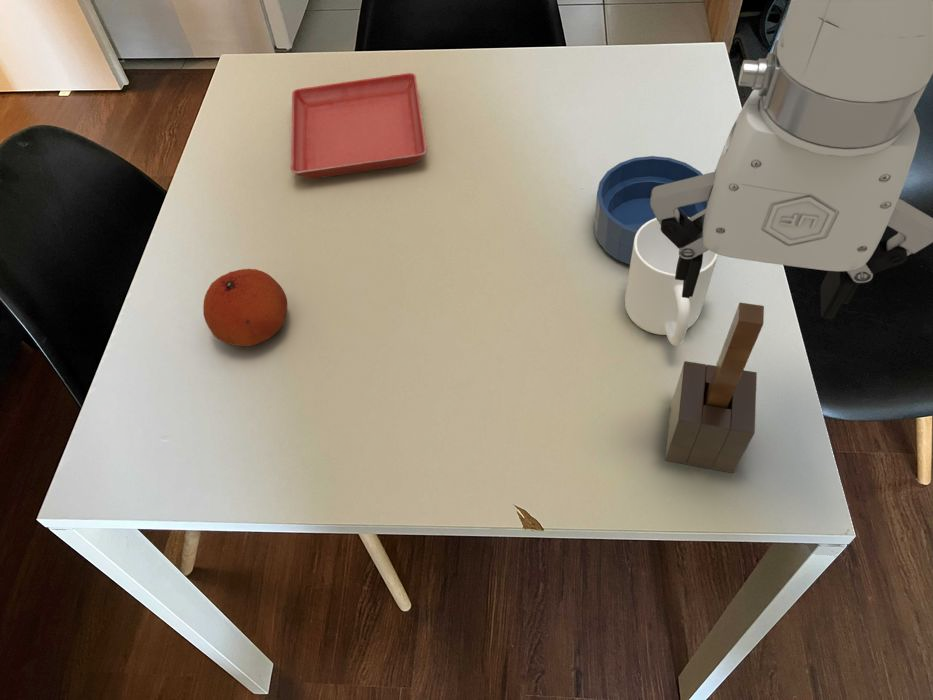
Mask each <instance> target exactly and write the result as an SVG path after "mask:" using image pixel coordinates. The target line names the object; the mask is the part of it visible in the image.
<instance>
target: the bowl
mask: <svg viewBox="0 0 933 700" xmlns="http://www.w3.org/2000/svg"><path fill="white" fill-rule="evenodd" d="M700 175H704V174H703V173H702V171H700V170H698V169H697V168H696V167H694V166H692V165H690V164H689V163H687V162H685V161H681V160H678V159H676V158H672V157H667V156H666V157H665V156H655V155H649V156H648V155H647V156H639V157H633V158H630V159H627V160H624V161H621V162H618V164H616V165H614V166H613V167H611V168H609V170H607V171H606V173H605V174H604V175H603V177H602V178H601V179H600V181H599V183H598V187H597V191H596V197H595V198H596V199H595V209H594V221H593V229H594V234H595V238H596V241H597V242H598V243H599V245H600V246H601V247H602V249H603V250H604V252H606V253H607V254H608V255H610V256H611V257H613V259H615V260H617V261H618V262H622V263H624V264H627V265H629V266H630V263H631V257H632V251H633V245H634V238H635V235H636V233H637V231H638V230H639V229H640V228H641V227H642V226H643V225H644V224H645V223H647V222H648V221H650V220H652V219H654V218H656V217H655V214H654V212H653V210H652V208H651V206H650V199H651V193H652V189H653V188H654V187H656V186H659V185H664V184H668V183H672V182H676V181H680V180H684V179H688V178H692V177H696V176H700ZM706 208H707V201H705V202H701V203H696V204H692V205H687V206H683V207H679V209H680V210H681V211H682V212H683V213H684V214H685V215H686V216H687V217H689V218H690V217H692V216H694V215H695V214H697V213H699V212H701V211H702V210H704V209H706Z"/></svg>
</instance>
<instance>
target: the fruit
mask: <svg viewBox="0 0 933 700" xmlns="http://www.w3.org/2000/svg"><path fill="white" fill-rule="evenodd" d="M202 309H203V310H202V311H203V317H204V322H205V324H206V326H207V327H208V329H209V330H210V332H211V334H212V336H214V337H215V338H216V339H217V340H219V341H221V342H223V343H226V344H229V345H232V346H241V347H249V346H250V347H251V346H255V345H258V344H260V343H262V342H264V341H267V340H269V339H271V338H272V337H273V336H274V335H275V334H276V333H277V332H278V331H280V329H281V328H282V326H283V324H284V322H285V320H286V317H287V312H288V299H287V294H286V293H285V291H284V288H283V286H281V285H280V284H279V283H278V281H277V280H276V279H274V277H272V276H271V275H270V274H268V273H267V272H264V271H262V270H258V269H256V268H242V269H237V270H233V271H229V272H227V273H225V274H223V275H221V276H219V277H217V278H216V279H215V280H214V281H213V282H212V283H211V284H210V285H209V287H208V289H207V290H206V294H204V299H203V307H202Z"/></svg>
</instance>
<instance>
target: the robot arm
mask: <svg viewBox="0 0 933 700" xmlns="http://www.w3.org/2000/svg"><path fill="white" fill-rule="evenodd" d="M786 12H787V13H786V16H785V18H784V22H783V25H782V28H781V31H780V35H779V38H778V40H777V39H776V40H775V42H774V46H773V48H772V52H768V53H767V55H766V57H765V58H760V57H759V58H758V59H757V60H753V59H743V60H742V64H741V68H740V71H739V76H738V82H737V83H738V84H737V85H738V86H739V87H750V88H751V90H752V91H751V93H750V95H749V96H748V98H747V99H746V100H745V102H744V104H743V106H742V108H741V110H740V112H739V113H738V115H737V117H736V119H735V122H734V123H733V125H732V128H731V130H730V131H729V134H728V137H727V139H726V141H725V144H724V146H723V148H722V151H721V153H720V156H719V158H718V161H717V164H716V167H715V169H714V171H713V172H712V171H711V172H708V173H705V174H703V175H700V176H696V177H692V178H688V179H684V180H680V181H676V182H672V183H668V184H664V185H659V186H656V187H654V188H653V189H652V193H651V199H650V206H651V208H652V210H653V212H654V214H655V217H656V219H657V221H659V223H660V225H661V232H662V233H663V234H664V235H665V236H666V237H667V238H668V239H669V240H670V241H671V242H672V243H673V244H674V245H675V246H676V247H678V248H679V259H678V263H677V268H676V275H675V279H676V280H683V290H682V297H683V298H689V297H692V296H693V293H694V290H695V286H696V283H697V280H698V276H699V273H700V270H701V266H702V260H703V253H704V252H706V251H708V250H710V251H712V252H714V253H716V254H718V256H722V257H727V258H733V259H739V260H744V261H750V262H751V261H752V262H758V263H765V264H773V265H781V266H787V267H795V268H803V269H812V270H820V271H826V272H827V273H826V274H825V277H824V279H823V280H822V282H821V285H820V316H821V317H823V318H824V319H826V320H834V318H835V317H836V315H837V313H838V311H839V309H840V307H842V304H845V305H848V304H849V303H850V301H851V300H852V297H853V296H854V295H855V292H857V289H858V287H859V286H860V284H865V283H869V282H870V281H872V279H873V277H874V274H876V273H879V272H881V271H884V270H887V269H888V270H889V269H890V268H894V267H896V266H899V265H902V264H904V263H905V262H906V261H907V260H908V256H910V255H912V254H914V255H915V254H916V253H918V252H919V251H922V250H923V249H925V248H926V247H928V246H930V245H931V244H933V217H931V216H930V215H928V214H927V213H925V212H923V211H921V210H920V209H918V208H917V207H914V206H913V205H912V204H910V203H908V202H906V201H905V200H903V199H901V198H900V197H901V193H902V192H903V188H904V186H905V183H906V180H907V178H908V175H909V173H910V170H911V166H912V164H913V160H914V157H915V154H916V150H917V146H918V144H919V143H918V142H919V137H920V133H921V129H920V128H921V127H920V125H919V122H918V119H917V116H916V113H915V111H914V110H915V109H916V107H917V105H918V103H919V101H920V99H921V97H922V95H923V93H924V92H925V89H926V88H927V86H928V84H929V82H930V80H931V77H932V75H933V0H790V3H789V6H788V8H787V11H786ZM705 201H707V208H706V209H704V210H702V211H701V212H699V213H697V214H695V215H694V216H692V217H690V218H688V217H687V216H686V215H685V214H684V213H683V212H682V211H681V210H680V209H679V207H683V206H687V205H692V204H696V203H701V202H705ZM887 227H889V228H891V229H892V230H893V231H896V232H897V233H892V234H888V235H886V236H883V235H884V233H885V231H886V229H887Z"/></svg>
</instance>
